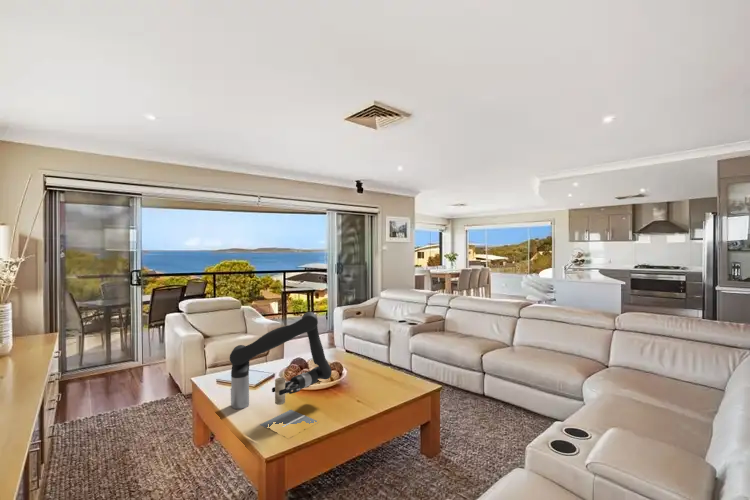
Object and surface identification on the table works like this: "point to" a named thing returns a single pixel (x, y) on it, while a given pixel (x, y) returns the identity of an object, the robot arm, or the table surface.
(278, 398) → the birch cylinder
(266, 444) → the table surface
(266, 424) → the mat
